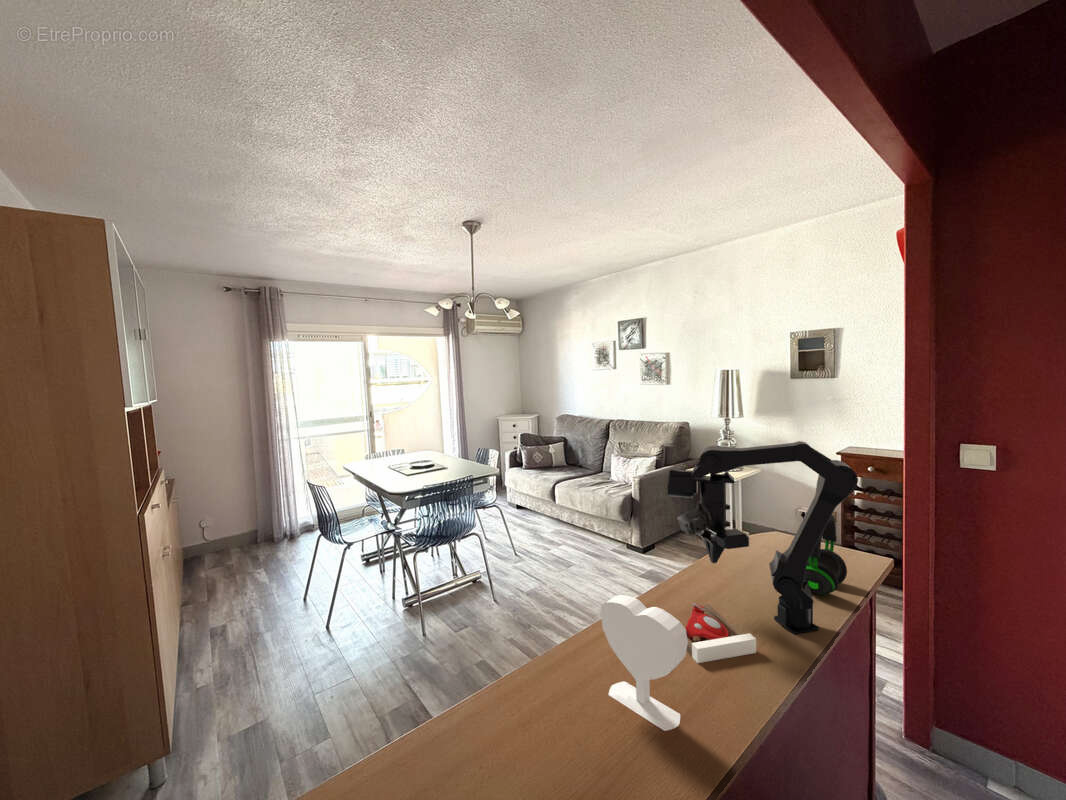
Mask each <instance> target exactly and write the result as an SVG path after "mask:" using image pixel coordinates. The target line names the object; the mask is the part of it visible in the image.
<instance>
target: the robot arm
mask: <svg viewBox="0 0 1066 800" xmlns="http://www.w3.org/2000/svg"><path fill="white" fill-rule="evenodd" d="M698 461H699V462H698V463H696V465H694V466H693V470H690V469H688V470H687V469H678V468H670V469H669V472H668V474H669V475H668V482H667V495H668V497H676V498H686V499H687V498H690V499H693V498H694V497H695V495H698V490H699V489H700V490H699V491H700V493H699V494H700V498H699V499H700V500H699V501H696V503H695V508H694V509H692V510H688V511H685V512H684V513H682V514H681V515H678V516H677V521H678V524H679V527H680V529H681V531H682V532H685V533H686V534H687V535H689V536H693V535H695V534H697V536H699V537H701V539H702V540H703V543H704V545H705V548H706V552H707V554H708V557H709V560H710V563H712V564H717V563H718V561H719V560H720V558H721V556H722V554H723V553H724V550H731V549H740V548H747V547H750V537H749V536H748V535H747V534H746V533H745V532H743V531H742V530H739V529H737V528H732V529H728V527H730V528H731V521H729V520H727V511H729V510H731V504H728V503H727V484H735V477H733V475H731V474H730V473H729V471H732V470H734V469H737V468H742V467H746V466H757V465H759V466H760V465H771V464H780V463H781V464H782V463H792V462H801V463H803V464H804V465H805V466H806V467H808V468H809V469H810V470H812V471H813V472H815V473H816V474H818V476H817V482H816V488H815V493H814V497H813V499H812V502H811V503H810V504H809V507H808V509H807V511H806V513H805V515H804V517H803V518H802V521H801V522H800V525H799V527H798V529H797V530H796V532H795V535H794V536H793V539H792V540H791V542H790V544H789V547H788V548H787V549H786V550H785V551H784V552H780V551H779V550H775V553H774V557H773V559H772V560H771V561H770V562H769V563H768V564H769V570H770V576H771V581H772V586H773V588H774V589H775V591H776V593H779V596H778V603H777V615H775V616H773V620H775V621H776V622H778V623H779V624H780V625H781V626H783V627H784V628H785V629H787V630H788V631H789V632H791V633H793V634H795V635H797V634H805V633H809V632H815V631H819V630H820V629H819V626H817V625H816V624H814V622H813V621H814V615H813V614H814V603H815V602H814V598H813V595H812V592H811V591H810V589H809V586H808V583H807V582H806V581H804V580H805V574H806V567H807V562H808V560H809V558H810V556H811V554H812V552H813V550H814V548H815V546H816V544H817V542H818V540H819V538H820V536H821V535H822V533H823V531H824V529H825V527H826V525H827V523H828V521H829V519H830V517H831V515H833V514H834V511H835V509H836V508H837V507H838V506H839V505H840V504H841V503H842V502H843V501H845V500H846V499H847V498H849V496H850V495H851V494H852V493H853V491H854V490H855V488H857V486H858V482H859V476H858V475H857V473H856V471H855V470H853V468H852V467H850V465H848V464H847V463H845V462H844V461H841V460H838V459H831V458H830V457H828V456H826V455H825V454H823V453H822V452H820V451H818V450H817V449H815V448H813V447H811V446H810V445H809V443H807V442H806V441H803V440H798V441H795V442H790V443H788V442H787V443H781V444H770V445H769V444H767V445H759V446H749V447H741V448H740V447H732V446H731V447H730V446H722V445H710V446H706V447H705V448H704V449H703V450H702V451H701V454H700V457H699V460H698ZM708 475H709V476H708ZM698 482H700V483H698ZM699 484H700V485H699ZM699 486H700V487H699Z"/></svg>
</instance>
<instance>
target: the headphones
mask: <svg viewBox="0 0 1066 800" xmlns="http://www.w3.org/2000/svg"><path fill="white" fill-rule="evenodd" d="M822 540H824V542H825V546H824V548H821V547H822ZM837 540H838V539H837V524H836V518H835V516H834V515H833V514H832V515H831V517H830V519H829V521H828V523H827V525H826V527H825V529H824V531H823V533H822V535H821V536H820V538H819V540H818V542H817V544H816V546H815V548H814V550H813V552H812V554H811V556H810V558H809V560H808V562H807V567H806V574H805V580H804V581H806V582H807V583H808V586H809V589H810V592H811V593H813V594H816V595H819V596H826V595H830V594H831V593H834V592H835V591H836V590H837V589H838V587H839V585H840V584H842V583H843V582H844V581H845V580H846V578H847V574H848V568H847V564H846V562H845V561H844V559H843V558H842V556H840V555H839V554H838V553H836V552H834V546H835V543H837Z"/></svg>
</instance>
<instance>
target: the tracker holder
mask: <svg viewBox="0 0 1066 800" xmlns="http://www.w3.org/2000/svg"><path fill="white" fill-rule="evenodd" d="M692 606H693V608H692V610H691V615H690V618H688V621H687V623H686V625H685V627H684V628H685V629H686V634H687V637H688V639H692V638H693V637H694V638H695V637H700V638H705V639H706V640H713V639H719V638H725V637H730V634H729V633H728V631H727V629H726V628H725V626H724V625H723V624H722V623H720V622H719V621H718V620H716V619H715V618H713V617H711V616H709V615H708V614H707V613H705V610H704V606H703V605H700V604H697V603H695V602H694V603H692Z"/></svg>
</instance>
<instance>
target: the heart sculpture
mask: <svg viewBox="0 0 1066 800" xmlns="http://www.w3.org/2000/svg"><path fill="white" fill-rule="evenodd" d="M600 619H601V625H602V630H603V633H604V635H605V638H606V639H607V642H608V645H609V646H610V648H611V649H612V650H613V652H614V655H616V657H617V659H619V661H620V662H621V663H622V665H623V666H624V667H625V668H626V669H627V671H628V673H630V674H631V675H632V677H633V679H635V686H634V685H631V684H630V683H628V682H626V681H625V680H623V681H619V682H616V683H614V684H611V686H610V688H609V691H608V696H609V697H610V698H613V699H614V700H615V701H617V702H619V703H620V704H622V705H624V706H625V707H627V708H628V709H629V710H631V711H633V712H634V713H636V714H638V716H641V717H642V718H644V719H645V720H646V721H649V722H650V723H652V724H653V725H655V726H656V727H658V728H660V729H661V730H662V731H664V732H666V731H671V730H673V729H676V728H677V727H679V725H680V722H681V713H679V712H677V711H675V710H674V709H673V708H671V707H669V706H668V705H666V704H664V703H662V702H660V701H659V700H657V699H655V698H653V697H652V696H651V693H650V692H651V691H650V690H651V689H650V681H651V680H658V679H660V678H663V677H666V676H668V675H669V673H671V672H672V671H673V670H674V669H675V668H676V667H677V666H678V665H680V663H681V662H682V661H683V659H684V658H685V657H686V656H687V651H686V650H687V643H688V640H689V639H688V640H687V638H688V635H687V634H686V629H685V628H686V627H685V626H684V625H683V623H682V622H681V621H680V620H679V619H677V618H676V617H674V616H673V615H672V614H671V613H670V612H667V611H666V610H665V609H662V608H660V607H658V606H651V607H648V608H647V607H646V606H645V605H644V604H643V602H641V601H640V599H638V598H636V597H633V596H631V595H625V594H619V595H618V594H617V595H616V596H614V597H612V598H611V599H609V600H607V601H605V602H604V603H603V604H601V607H600Z"/></svg>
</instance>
